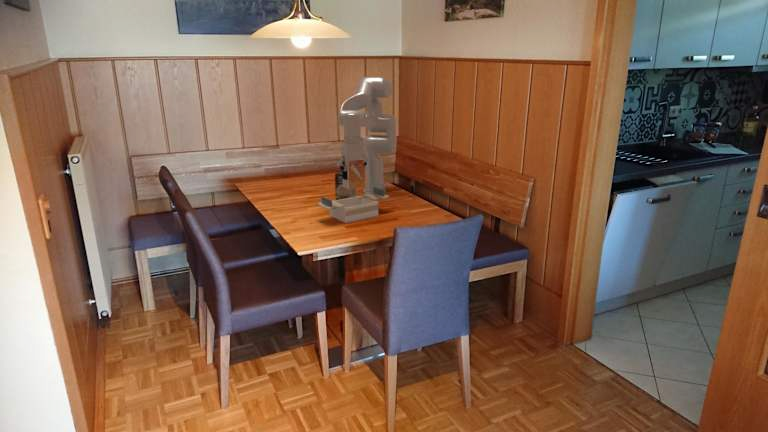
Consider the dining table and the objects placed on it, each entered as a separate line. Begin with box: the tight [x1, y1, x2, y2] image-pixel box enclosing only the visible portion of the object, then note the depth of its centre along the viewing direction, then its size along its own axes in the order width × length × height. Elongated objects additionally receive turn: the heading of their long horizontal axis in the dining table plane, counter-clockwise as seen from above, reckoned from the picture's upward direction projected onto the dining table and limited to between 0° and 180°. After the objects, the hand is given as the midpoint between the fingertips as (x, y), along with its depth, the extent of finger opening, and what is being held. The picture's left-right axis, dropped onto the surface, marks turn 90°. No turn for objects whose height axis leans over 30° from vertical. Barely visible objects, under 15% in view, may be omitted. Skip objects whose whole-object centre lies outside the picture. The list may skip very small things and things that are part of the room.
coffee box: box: [334, 170, 357, 201], centre depth 259 cm, size 9×6×16 cm
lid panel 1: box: [315, 196, 345, 211], centre depth 231 cm, size 9×11×4 cm
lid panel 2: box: [361, 187, 391, 201], centre depth 245 cm, size 9×11×4 cm
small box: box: [341, 159, 365, 189], centre depth 235 cm, size 8×6×13 cm
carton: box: [329, 195, 379, 224], centre depth 240 cm, size 18×14×7 cm
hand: (353, 177), depth 236 cm, fingers closed on small box, 8 cm apart
